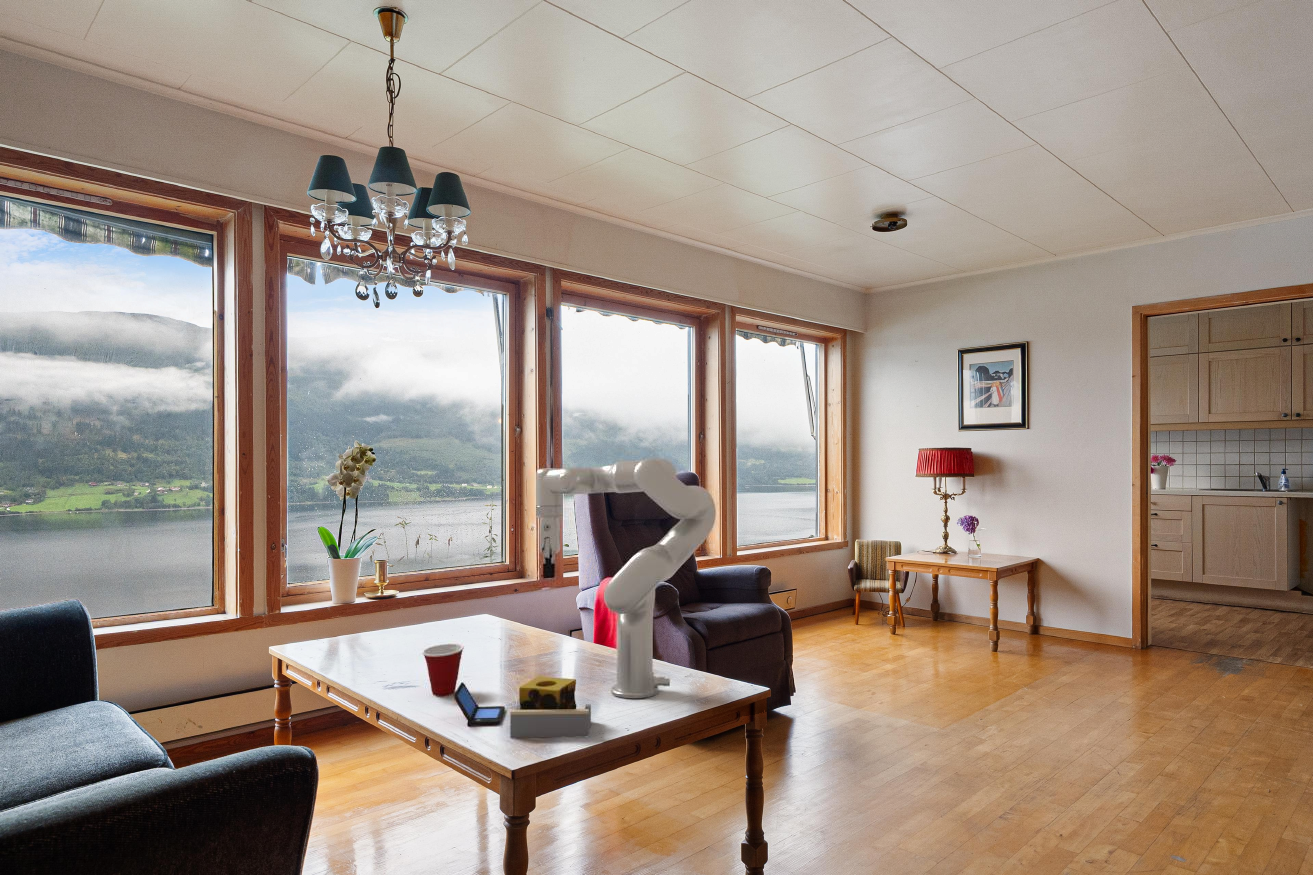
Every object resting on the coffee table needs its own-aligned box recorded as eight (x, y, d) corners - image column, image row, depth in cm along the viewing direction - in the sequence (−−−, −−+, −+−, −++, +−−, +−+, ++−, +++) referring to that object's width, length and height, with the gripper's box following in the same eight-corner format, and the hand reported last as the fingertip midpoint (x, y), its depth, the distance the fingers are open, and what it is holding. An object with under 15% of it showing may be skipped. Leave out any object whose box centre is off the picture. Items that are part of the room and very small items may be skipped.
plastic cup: (414, 692, 204) (415, 647, 205) (452, 685, 211) (453, 641, 212) (431, 701, 196) (432, 654, 196) (470, 694, 203) (471, 648, 203)
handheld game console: (499, 726, 177) (500, 694, 178) (452, 728, 176) (452, 695, 177) (505, 710, 190) (506, 679, 190) (461, 711, 189) (461, 680, 189)
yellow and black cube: (577, 721, 180) (577, 678, 181) (559, 735, 171) (559, 690, 171) (538, 717, 183) (538, 675, 184) (518, 731, 174) (518, 686, 174)
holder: (590, 721, 180) (590, 697, 180) (588, 736, 170) (588, 710, 170) (517, 722, 179) (517, 698, 180) (510, 737, 169) (510, 711, 169)
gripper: (560, 513, 208) (559, 581, 207) (565, 510, 223) (564, 574, 222) (532, 513, 208) (532, 581, 207) (539, 510, 223) (538, 574, 222)
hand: (548, 577), depth 215 cm, fingers closed
